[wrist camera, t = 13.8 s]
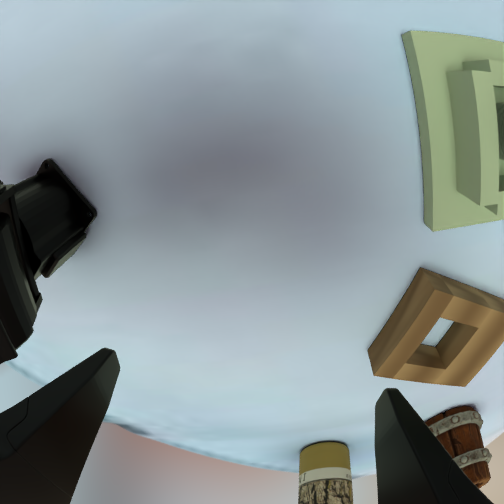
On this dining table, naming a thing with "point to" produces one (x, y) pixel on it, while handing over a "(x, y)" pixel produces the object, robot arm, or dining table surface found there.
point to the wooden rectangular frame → (451, 345)
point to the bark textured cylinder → (325, 474)
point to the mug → (463, 441)
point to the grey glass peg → (500, 128)
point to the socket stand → (458, 126)
